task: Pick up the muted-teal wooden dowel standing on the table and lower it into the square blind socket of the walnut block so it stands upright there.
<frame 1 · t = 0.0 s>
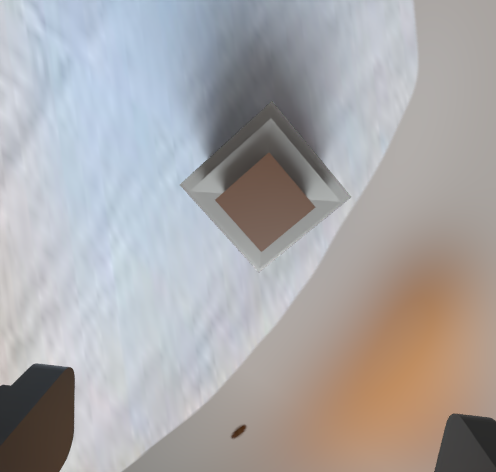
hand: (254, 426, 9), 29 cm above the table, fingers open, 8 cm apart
perfume bottle: (265, 170, 37), on the table
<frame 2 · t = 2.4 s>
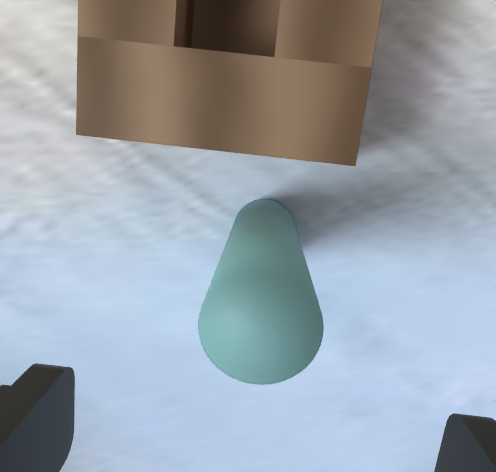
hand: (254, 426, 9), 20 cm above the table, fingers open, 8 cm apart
pin: (264, 229, 28), on the table
bore block: (237, 27, 26), on the table
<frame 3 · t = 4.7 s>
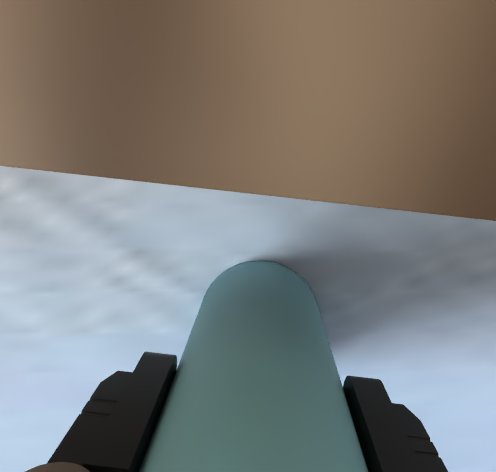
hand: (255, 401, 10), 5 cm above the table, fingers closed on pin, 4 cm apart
pin: (259, 317, 15), on the table, touching gripper
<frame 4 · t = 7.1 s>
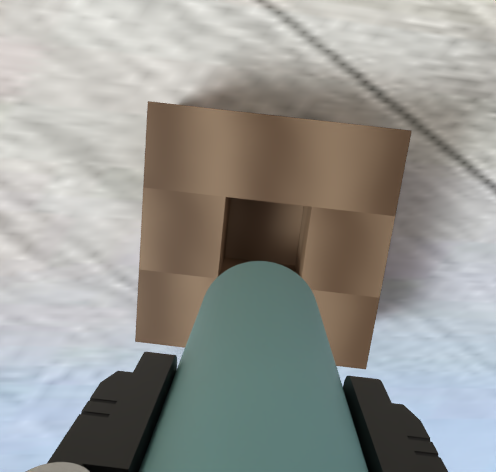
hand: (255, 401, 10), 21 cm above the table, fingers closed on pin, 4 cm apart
pin: (259, 317, 15), point 16 cm above the table, touching gripper
bore block: (264, 222, 30), on the table
when the fingers open (8 cm above the table, at t = 9.4 s): pin drops 2 cm, resting on bore block.
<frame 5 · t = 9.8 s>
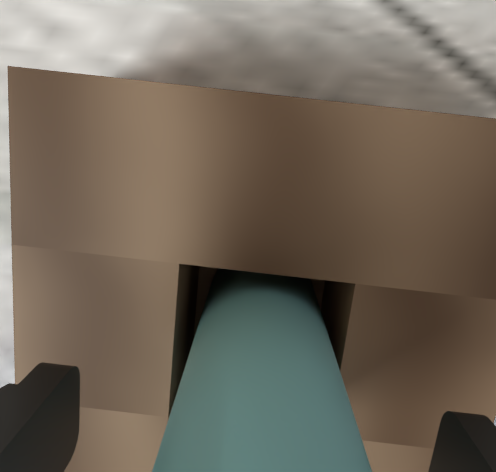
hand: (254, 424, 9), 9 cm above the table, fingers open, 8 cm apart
pin: (261, 297, 17), point 2 cm above the table, touching bore block
bore block: (259, 282, 18), on the table
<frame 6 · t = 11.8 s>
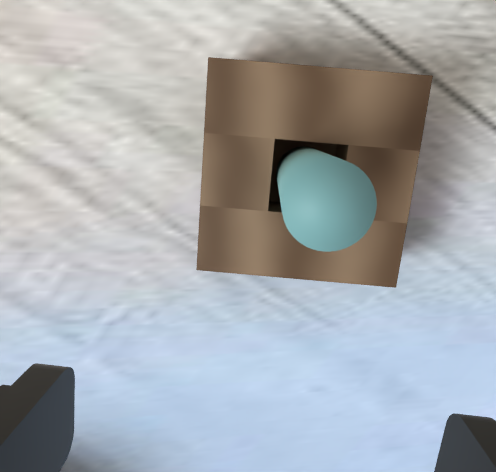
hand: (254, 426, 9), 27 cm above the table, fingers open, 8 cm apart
pin: (302, 173, 33), point 2 cm above the table, touching bore block
bore block: (299, 170, 34), on the table
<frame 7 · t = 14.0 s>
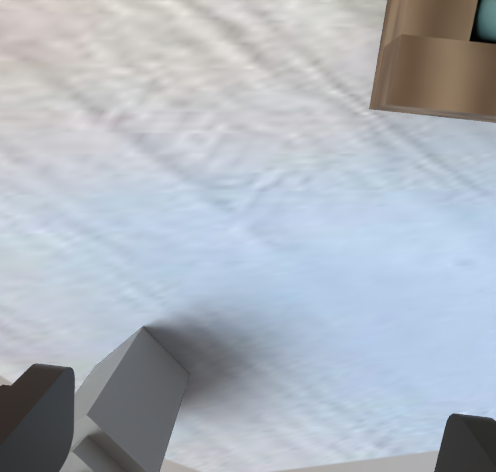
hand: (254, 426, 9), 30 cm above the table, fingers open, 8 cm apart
pin: (481, 23, 33), point 2 cm above the table, touching bore block
perfume bottle: (142, 369, 43), on the table
bore block: (471, 27, 35), on the table
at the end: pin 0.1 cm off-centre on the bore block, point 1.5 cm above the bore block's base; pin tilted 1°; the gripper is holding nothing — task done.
